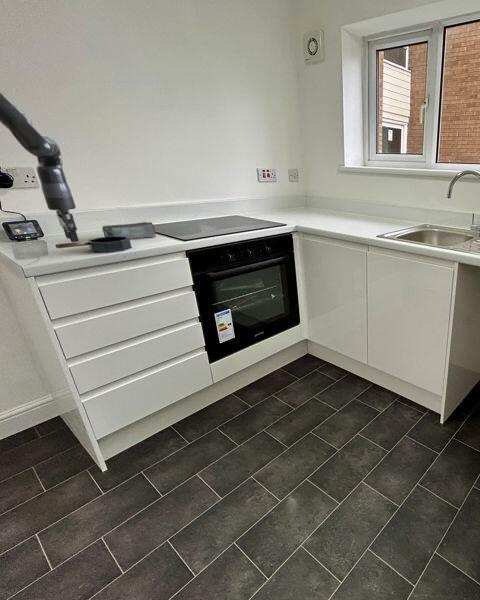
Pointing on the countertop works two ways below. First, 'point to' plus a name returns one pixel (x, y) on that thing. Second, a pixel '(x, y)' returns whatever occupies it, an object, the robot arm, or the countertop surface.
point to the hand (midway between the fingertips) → (72, 239)
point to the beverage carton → (130, 230)
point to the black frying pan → (102, 244)
